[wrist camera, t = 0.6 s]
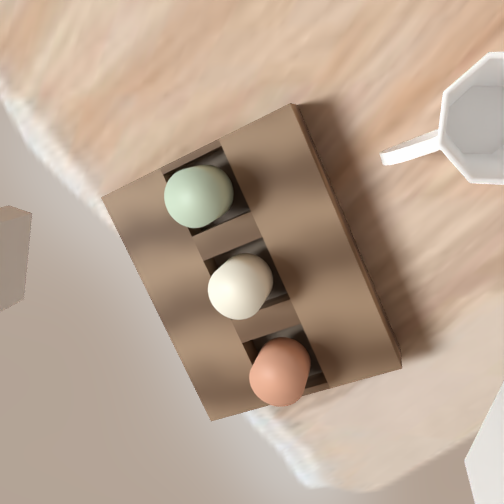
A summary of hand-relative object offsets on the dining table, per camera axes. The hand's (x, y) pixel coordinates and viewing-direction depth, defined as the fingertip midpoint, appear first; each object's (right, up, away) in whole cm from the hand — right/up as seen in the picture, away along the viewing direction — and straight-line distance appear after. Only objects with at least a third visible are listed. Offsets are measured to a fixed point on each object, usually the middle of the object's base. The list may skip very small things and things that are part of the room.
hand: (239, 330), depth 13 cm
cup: (+14, +10, +20) cm, 26 cm away
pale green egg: (-3, +6, +22) cm, 23 cm away
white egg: (0, 0, +23) cm, 23 cm away
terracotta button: (+3, -6, +24) cm, 25 cm away
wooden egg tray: (+1, +1, +26) cm, 26 cm away
